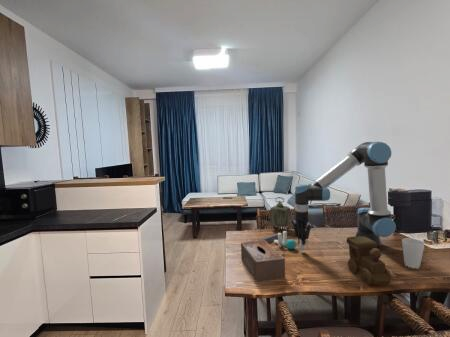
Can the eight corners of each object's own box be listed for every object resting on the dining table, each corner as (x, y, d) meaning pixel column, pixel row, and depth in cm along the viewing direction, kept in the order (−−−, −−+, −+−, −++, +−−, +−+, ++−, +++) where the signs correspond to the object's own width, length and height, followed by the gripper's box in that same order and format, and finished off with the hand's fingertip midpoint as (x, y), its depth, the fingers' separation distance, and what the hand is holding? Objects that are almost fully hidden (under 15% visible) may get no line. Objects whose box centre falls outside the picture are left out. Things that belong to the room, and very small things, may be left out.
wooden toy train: (344, 268, 133) (344, 237, 132) (365, 266, 134) (365, 235, 133) (370, 289, 113) (371, 252, 112) (394, 287, 115) (395, 251, 113)
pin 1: (282, 246, 164) (282, 233, 163) (280, 247, 162) (280, 234, 162) (279, 245, 166) (279, 232, 165) (277, 246, 164) (277, 233, 164)
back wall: (280, 237, 179) (280, 233, 179) (260, 245, 167) (260, 240, 167) (278, 237, 181) (278, 233, 181) (258, 244, 168) (258, 240, 168)
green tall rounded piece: (291, 229, 197) (290, 197, 195) (287, 232, 190) (286, 199, 188) (273, 226, 205) (272, 195, 203) (268, 229, 198) (268, 197, 196)
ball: (290, 236, 162) (288, 243, 165) (285, 239, 158) (283, 247, 161) (298, 241, 158) (296, 249, 161) (293, 244, 154) (291, 252, 157)
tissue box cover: (241, 259, 147) (241, 242, 146) (265, 256, 150) (265, 240, 149) (256, 282, 122) (256, 262, 121) (285, 278, 125) (284, 258, 124)
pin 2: (287, 244, 167) (287, 231, 166) (285, 245, 165) (285, 232, 165) (284, 243, 169) (284, 230, 168) (282, 244, 167) (282, 231, 167)
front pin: (286, 242, 164) (276, 239, 171) (284, 243, 163) (273, 240, 169) (286, 246, 165) (276, 242, 171) (284, 247, 163) (273, 243, 170)
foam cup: (419, 262, 137) (420, 239, 136) (426, 271, 128) (427, 245, 127) (398, 260, 140) (399, 237, 139) (404, 268, 131) (405, 243, 130)
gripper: (288, 210, 155) (288, 248, 157) (307, 214, 145) (307, 254, 147) (296, 207, 160) (296, 245, 162) (315, 211, 150) (315, 251, 152)
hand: (301, 249), depth 154 cm, fingers closed
